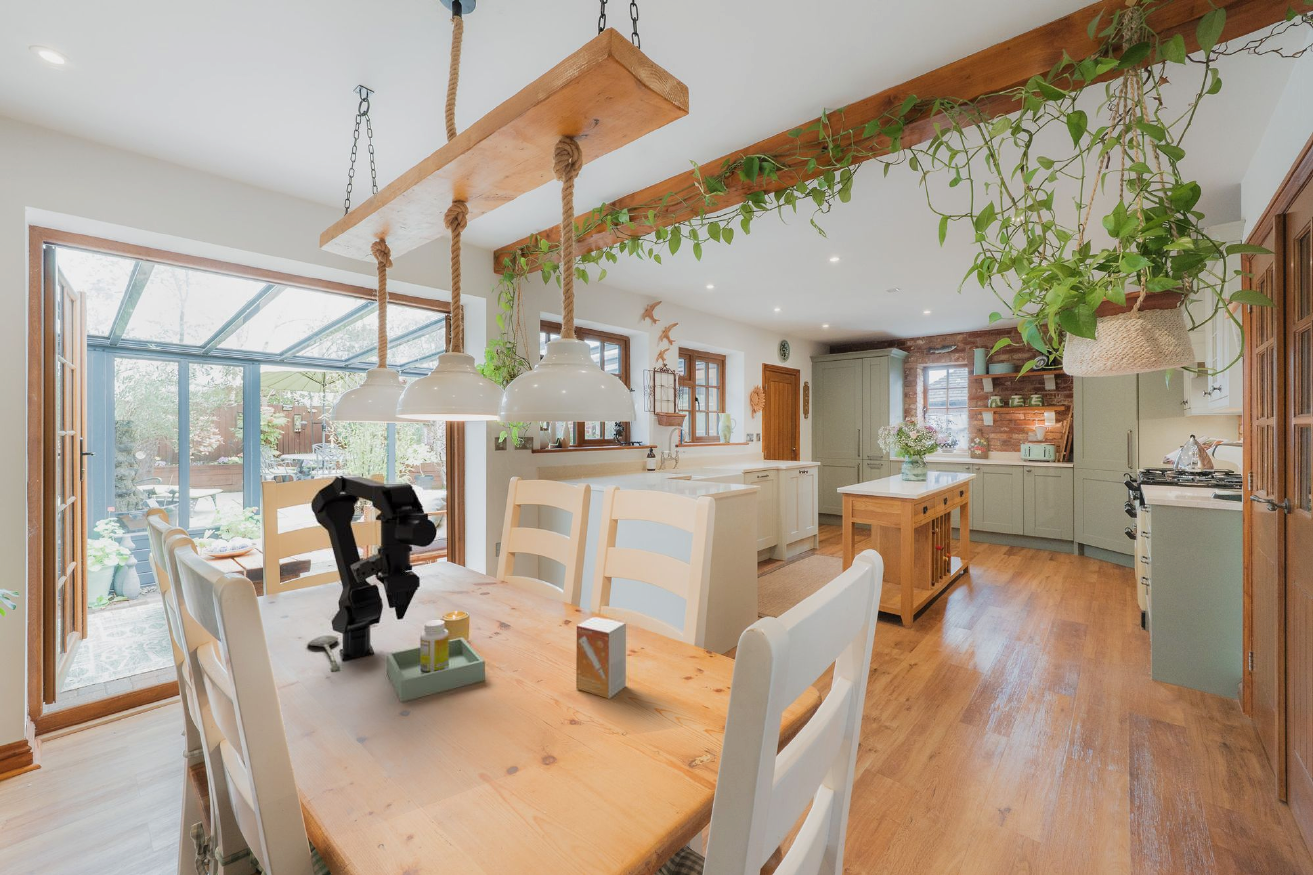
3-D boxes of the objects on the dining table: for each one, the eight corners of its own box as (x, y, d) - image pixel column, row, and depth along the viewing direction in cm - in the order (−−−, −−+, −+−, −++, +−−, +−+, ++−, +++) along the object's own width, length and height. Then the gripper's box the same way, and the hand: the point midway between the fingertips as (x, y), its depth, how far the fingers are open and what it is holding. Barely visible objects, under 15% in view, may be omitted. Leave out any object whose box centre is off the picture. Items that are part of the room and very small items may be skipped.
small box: (575, 690, 109) (575, 625, 109) (594, 677, 115) (594, 615, 115) (609, 699, 105) (609, 632, 105) (626, 686, 111) (626, 622, 111)
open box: (386, 671, 117) (386, 653, 117) (462, 654, 127) (462, 637, 127) (401, 701, 104) (401, 681, 104) (484, 680, 114) (484, 660, 113)
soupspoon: (336, 641, 137) (305, 649, 133) (335, 628, 137) (305, 635, 133) (352, 668, 120) (317, 677, 116) (351, 652, 120) (316, 662, 116)
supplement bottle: (451, 664, 119) (451, 617, 118) (444, 676, 113) (444, 626, 113) (424, 666, 118) (425, 618, 118) (416, 677, 112) (416, 627, 112)
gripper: (348, 539, 122) (348, 608, 122) (359, 554, 107) (359, 633, 107) (402, 533, 128) (402, 600, 129) (420, 547, 113) (420, 622, 113)
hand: (395, 613), depth 119 cm, fingers open, 9 cm apart
